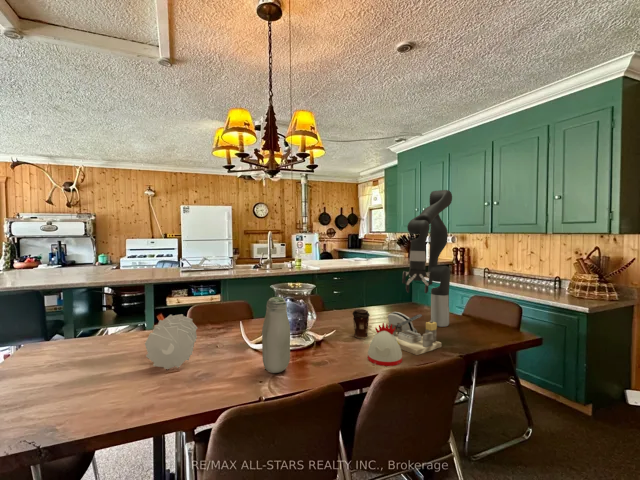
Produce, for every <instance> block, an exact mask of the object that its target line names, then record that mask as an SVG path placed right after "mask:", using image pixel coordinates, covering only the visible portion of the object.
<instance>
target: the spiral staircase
mask: <svg viewBox="0 0 640 480" xmlns="http://www.w3.org/2000/svg"><path fill="white" fill-rule="evenodd" d="M197 329H199V328H198V327H197V325H196V324H195V323H194V322H193V318H190V317H187V316H185V315H184V314H182V313H181V314H175V315H173V314H169V315H168V316H167V317H165V318H164V319H163V320H162V319H159V321H158V323H157V324H155V325H154V327H153V330H152V332H150V333H149V335H148V337H147V338H146V340H145V342H144V346H145V349H146V352H147V354H145V357H146V358H147V359H148V360H150V362H152V363H153V365H152V366H153V367H157V368H158V367H159V368H163V369H164V370H165V369H167V370H169V369H171V368H175V367H176V368H178V369H179V368H180V367H181V366H182V365H183V364H184V362H185V361H190V357H191V356H192V355H193V351H194V346H195V342H197V339H198V337H197Z"/></svg>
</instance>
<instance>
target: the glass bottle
mask: <svg viewBox="0 0 640 480" xmlns="http://www.w3.org/2000/svg"><path fill="white" fill-rule="evenodd" d="M287 306H288V303H287V302H286V300H285V298H284V297H283V296H273V297H270V298H269V299H268V300H267V301H266V306H265V307H266V311H265V316H264V321H263V324H262V328H261V329H262V330H261V347H262V349H261V350H262V351H261V352H262V355H261V356H262V363H263V367H264V368H265V370H266V371H267V372H269V373H271V374H279V373H282V372H283V371H284V370H286V369H287V367H288V366H289V363H290V360H291V325H290V320H289V317H288V310H287V309H288V307H287Z"/></svg>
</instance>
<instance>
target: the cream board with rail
mask: <svg viewBox="0 0 640 480" xmlns="http://www.w3.org/2000/svg"><path fill="white" fill-rule="evenodd" d="M398 324H400V323H399V322H398V323H397V325H398ZM395 327H396V325H394V324H392V329H394V328H395ZM396 331H397V332H396ZM424 331H425V332H424V333H423V334H422V335H421V333H418V332H413V331H410V330H408V331H404V330H403V331H402V326H401V327H399V328H395V330H394V332H393V335H394V336H395V337H396V339H397V341H398V342H399V343H400V344H399V345H400V348H401V351H402V350H403V351H405V352H408V353H410V354H413V355H416V356H419V355H421V354H425V353H427V352H431V351H434V350H437V349H440V348H442V342H440V341H437V329H436V330H432V331H430V330H427V329H426V328H425V329H424Z"/></svg>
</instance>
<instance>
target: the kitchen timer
mask: <svg viewBox="0 0 640 480" xmlns="http://www.w3.org/2000/svg"><path fill="white" fill-rule="evenodd" d="M388 325H389V323H386V325H385V322H382V324H381V325H380V324H378V328H377V327H375V331H376V334H375V335H373V337H372V339H371V342H370V343H369V345H368V350H367V359H368V361H369V362H370V363H372V364H375V365H377V366H384V367H393V366H398V365H400V364H401V363H403V352H402V349H401V348H400V345H399V344H400V343H399V342H398V341H397V339H396V337H395V336H394V335H393V332H394V330H395V328H396V327H395V328H394V329H392V324H391V326H390V325H389V326H390V327H389V326H388ZM396 329H397V328H396Z"/></svg>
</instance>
